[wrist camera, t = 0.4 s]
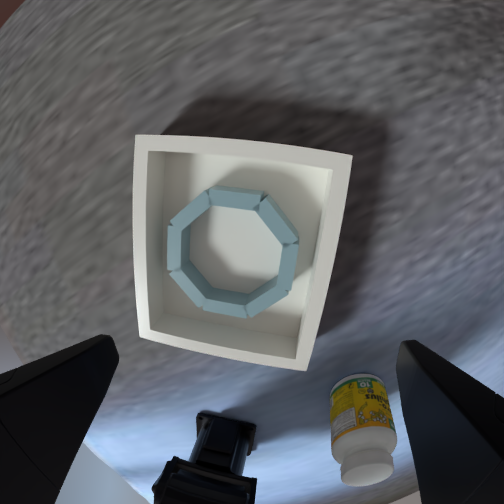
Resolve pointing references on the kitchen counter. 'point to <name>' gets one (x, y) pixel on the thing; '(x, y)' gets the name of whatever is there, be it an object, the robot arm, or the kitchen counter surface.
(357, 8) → the kitchen counter surface
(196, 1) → the kitchen counter surface
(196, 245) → the socket box
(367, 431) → the supplement bottle
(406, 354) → the robot arm
